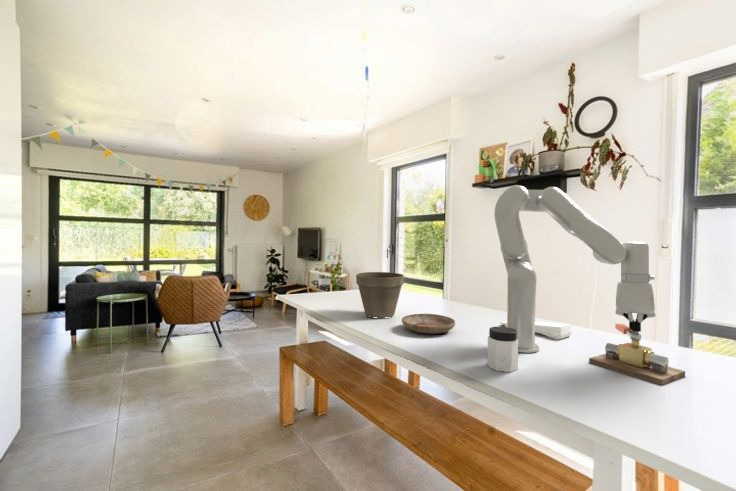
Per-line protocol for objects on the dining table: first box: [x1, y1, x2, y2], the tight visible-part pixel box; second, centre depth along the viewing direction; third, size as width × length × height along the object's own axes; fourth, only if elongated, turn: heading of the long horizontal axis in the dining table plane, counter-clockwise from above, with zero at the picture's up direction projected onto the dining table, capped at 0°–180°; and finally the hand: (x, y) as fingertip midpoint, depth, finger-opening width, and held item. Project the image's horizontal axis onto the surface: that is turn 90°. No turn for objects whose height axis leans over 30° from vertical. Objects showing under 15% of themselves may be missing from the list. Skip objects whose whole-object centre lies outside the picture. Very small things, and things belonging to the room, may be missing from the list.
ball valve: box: [604, 339, 669, 374], centre depth 112 cm, size 5×16×8 cm, turn 28°
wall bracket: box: [499, 320, 573, 340], centre depth 157 cm, size 10×7×28 cm
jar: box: [486, 326, 519, 373], centre depth 112 cm, size 9×8×12 cm
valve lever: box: [615, 323, 642, 341], centre depth 118 cm, size 15×3×2 cm, turn 162°
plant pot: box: [355, 271, 405, 318], centre depth 185 cm, size 25×25×22 cm
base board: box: [588, 353, 686, 386], centre depth 112 cm, size 14×20×2 cm
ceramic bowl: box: [401, 313, 456, 335], centre depth 157 cm, size 23×24×5 cm
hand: (634, 333), depth 120 cm, fingers closed
